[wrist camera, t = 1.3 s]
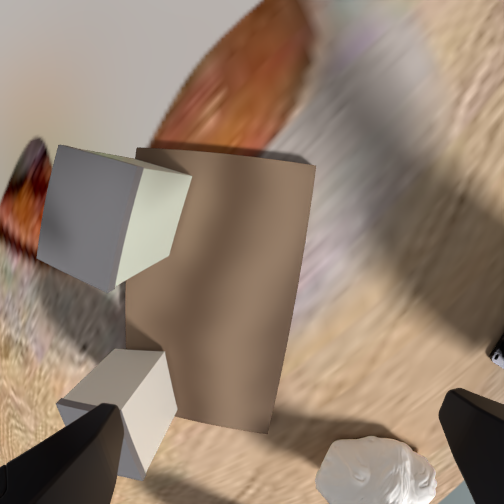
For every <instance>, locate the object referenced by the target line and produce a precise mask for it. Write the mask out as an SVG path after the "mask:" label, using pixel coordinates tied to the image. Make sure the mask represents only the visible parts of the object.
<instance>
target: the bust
mask: <svg viewBox="0 0 504 504" xmlns="http://www.w3.org/2000/svg"><path fill="white" fill-rule="evenodd" d="M435 475H436V472H435V469H434V467H433V466H432V465H431V464H430V463H429V462H428V460H427V459H426V458H425V457H424V456H422V455H420V454H418V453H416V452H414V451H412V449H411V448H410V447H409V446H408V445H407V444H406V443H404V442H400V441H397V440H394V439H389V438H378V437H376V436H367V437H364V438H360V439H341V440H336V441H334V442H333V443H332V444H331V446H330V448H329V450H328V452H327V454H326V456H325V458H324V460H323V462H322V464H321V467H320V469H319V470H318V472H317V474H316V478H315V483H316V489H317V490H318V491H319V492H320V493H321V495H322V496H323V497H324V498H325V499H326V500H327V502H328V503H329V504H429V502H430V501H431V500H432V499H433V498H434V497H435V494H436V491H435V488H436V486H437V481H436V480H435Z"/></svg>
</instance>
